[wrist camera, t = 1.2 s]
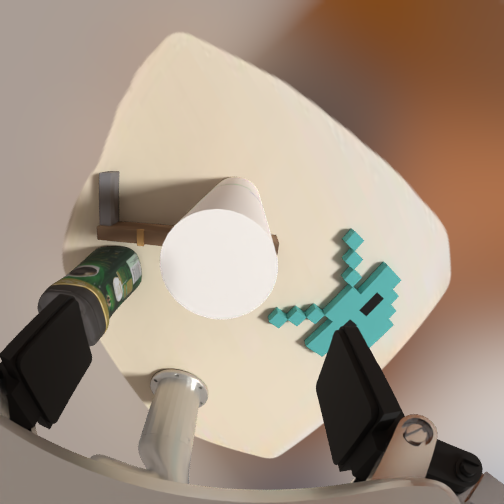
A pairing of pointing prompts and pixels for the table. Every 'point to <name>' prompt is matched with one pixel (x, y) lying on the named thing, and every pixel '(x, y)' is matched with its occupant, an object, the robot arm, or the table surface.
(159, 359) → the table surface
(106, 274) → the coffee jar
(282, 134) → the table surface
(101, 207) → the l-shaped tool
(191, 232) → the cylindrical container
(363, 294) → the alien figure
